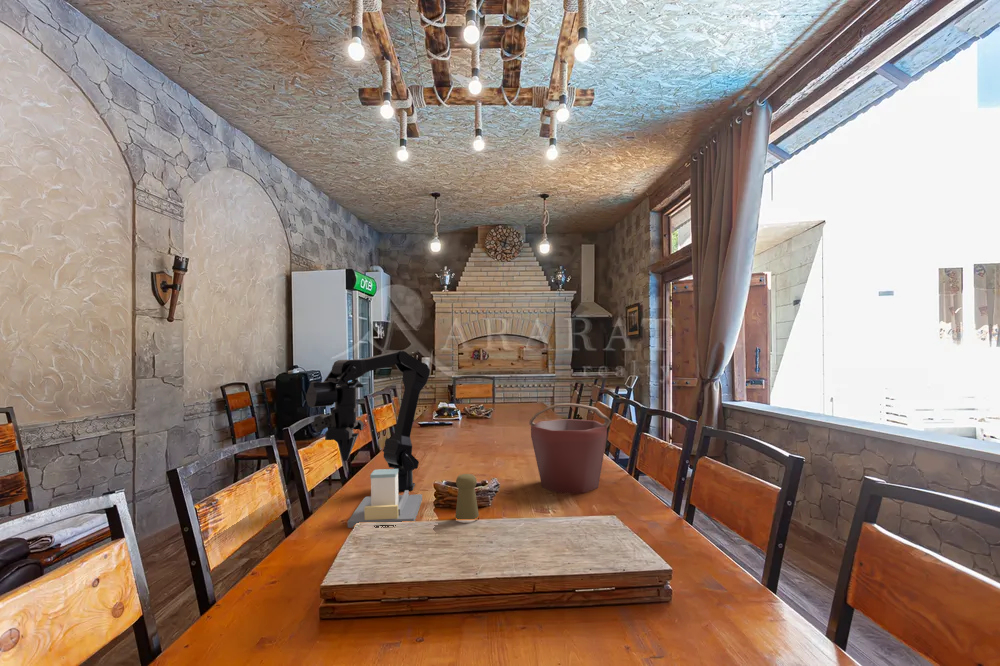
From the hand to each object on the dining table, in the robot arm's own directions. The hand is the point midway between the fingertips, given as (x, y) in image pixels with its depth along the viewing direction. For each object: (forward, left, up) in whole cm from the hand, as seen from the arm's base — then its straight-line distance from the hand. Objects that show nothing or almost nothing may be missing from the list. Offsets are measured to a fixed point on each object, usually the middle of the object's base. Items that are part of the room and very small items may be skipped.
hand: (345, 460), depth 135 cm
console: (+8, +13, -12) cm, 19 cm away
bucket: (-9, +65, -13) cm, 67 cm away
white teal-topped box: (+11, +13, -11) cm, 20 cm away
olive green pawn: (+15, +34, -13) cm, 39 cm away
